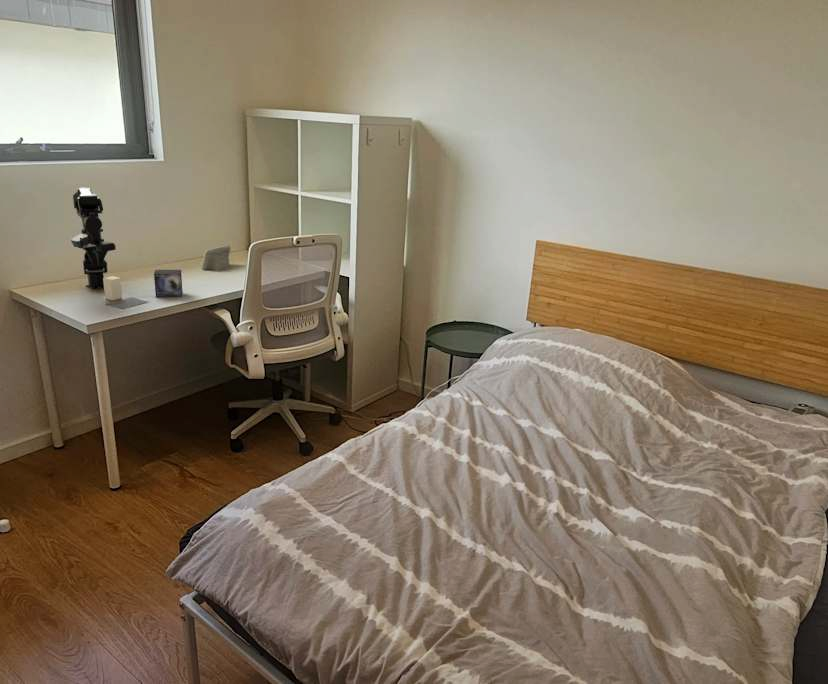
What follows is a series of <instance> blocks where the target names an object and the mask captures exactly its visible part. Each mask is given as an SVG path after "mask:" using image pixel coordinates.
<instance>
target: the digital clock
mask: <svg viewBox="0 0 828 684" xmlns="http://www.w3.org/2000/svg"><path fill="white" fill-rule="evenodd" d="M230 252H231V246H230V245H223V246H218V247H213V248H210V249H206V250H205V252H204V256H203V261H202V264H201V265H202V266H201V269H202V270H203V271H204V270H205V271H206V270H211V271H215V272H218V271H221V269H222V270H226V269H229V268H230V259H229V257H230Z"/></svg>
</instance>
